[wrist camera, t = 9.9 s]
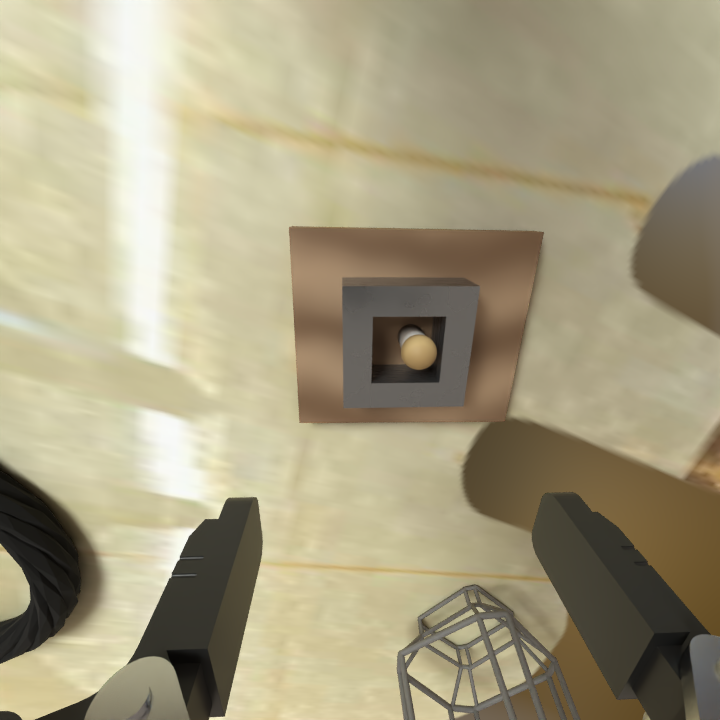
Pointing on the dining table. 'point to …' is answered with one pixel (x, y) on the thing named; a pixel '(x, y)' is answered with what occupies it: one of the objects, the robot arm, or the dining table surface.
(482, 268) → the keeper block
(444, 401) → the grey square frame
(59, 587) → the black studded ring
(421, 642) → the geometric lantern
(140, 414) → the dining table surface
